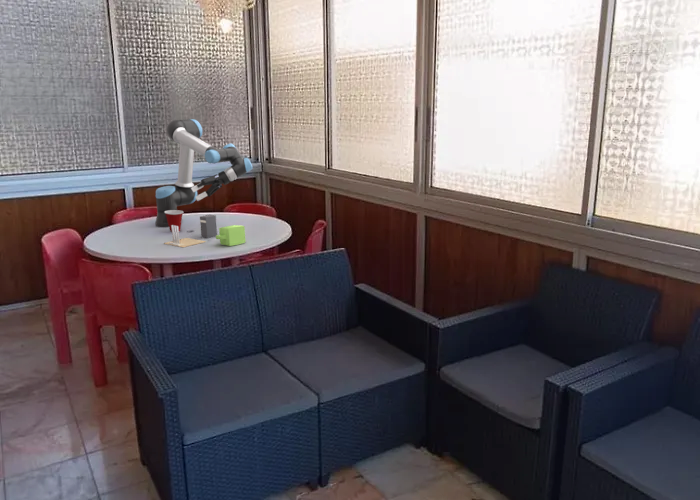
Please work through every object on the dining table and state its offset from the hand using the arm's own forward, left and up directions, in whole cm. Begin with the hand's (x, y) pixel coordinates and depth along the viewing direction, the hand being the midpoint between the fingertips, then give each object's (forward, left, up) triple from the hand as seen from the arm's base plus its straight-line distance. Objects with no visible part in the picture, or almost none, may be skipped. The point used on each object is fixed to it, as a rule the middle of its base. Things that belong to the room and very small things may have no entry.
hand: (194, 194), depth 332 cm
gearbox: (+34, -4, -23) cm, 41 cm away
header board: (+11, -18, -23) cm, 31 cm away
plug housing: (+11, -1, -23) cm, 25 cm away
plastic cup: (-18, -1, -23) cm, 29 cm away
